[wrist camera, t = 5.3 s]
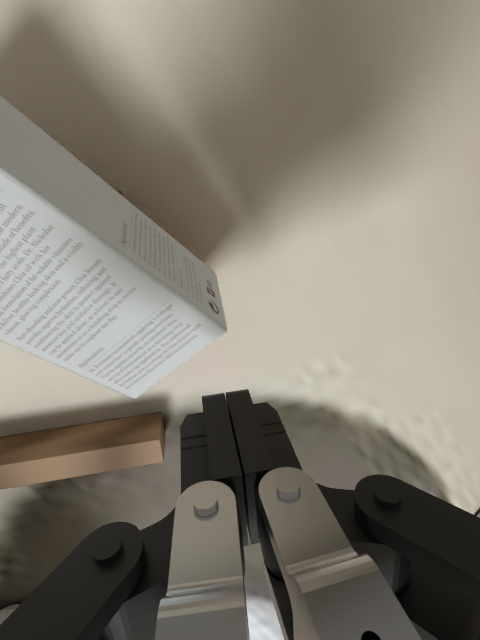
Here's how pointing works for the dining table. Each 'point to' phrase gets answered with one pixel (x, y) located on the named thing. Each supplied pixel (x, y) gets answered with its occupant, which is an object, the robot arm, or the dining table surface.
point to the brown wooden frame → (81, 450)
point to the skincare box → (93, 270)
